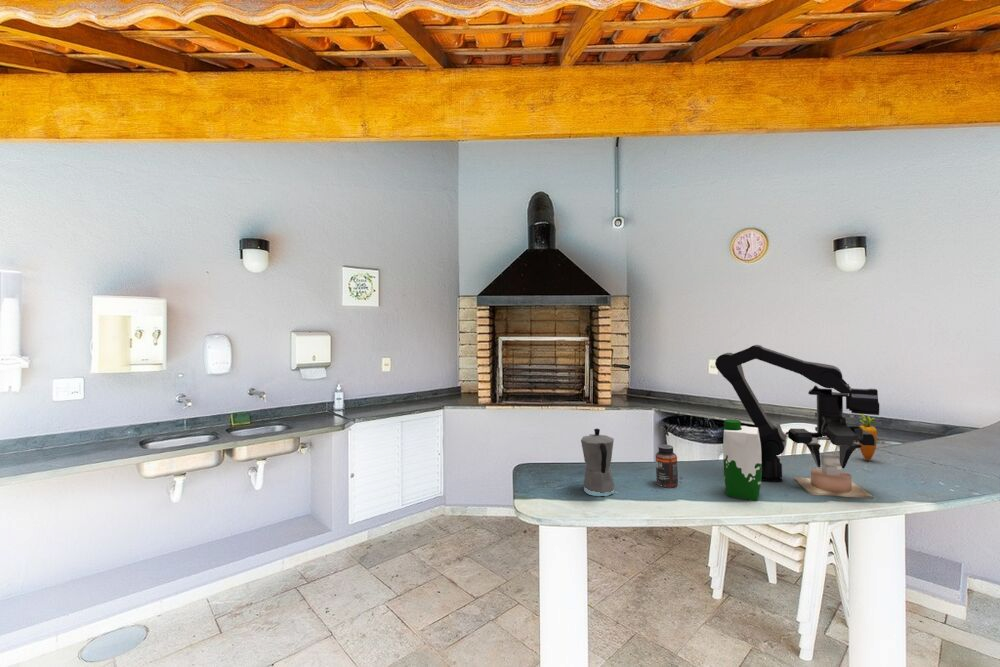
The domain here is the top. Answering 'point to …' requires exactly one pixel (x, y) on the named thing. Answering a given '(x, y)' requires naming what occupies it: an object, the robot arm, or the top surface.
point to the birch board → (813, 490)
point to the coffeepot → (598, 462)
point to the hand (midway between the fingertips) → (830, 467)
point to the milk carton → (742, 460)
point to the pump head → (831, 460)
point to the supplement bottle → (666, 466)
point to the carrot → (868, 449)
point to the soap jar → (831, 479)
